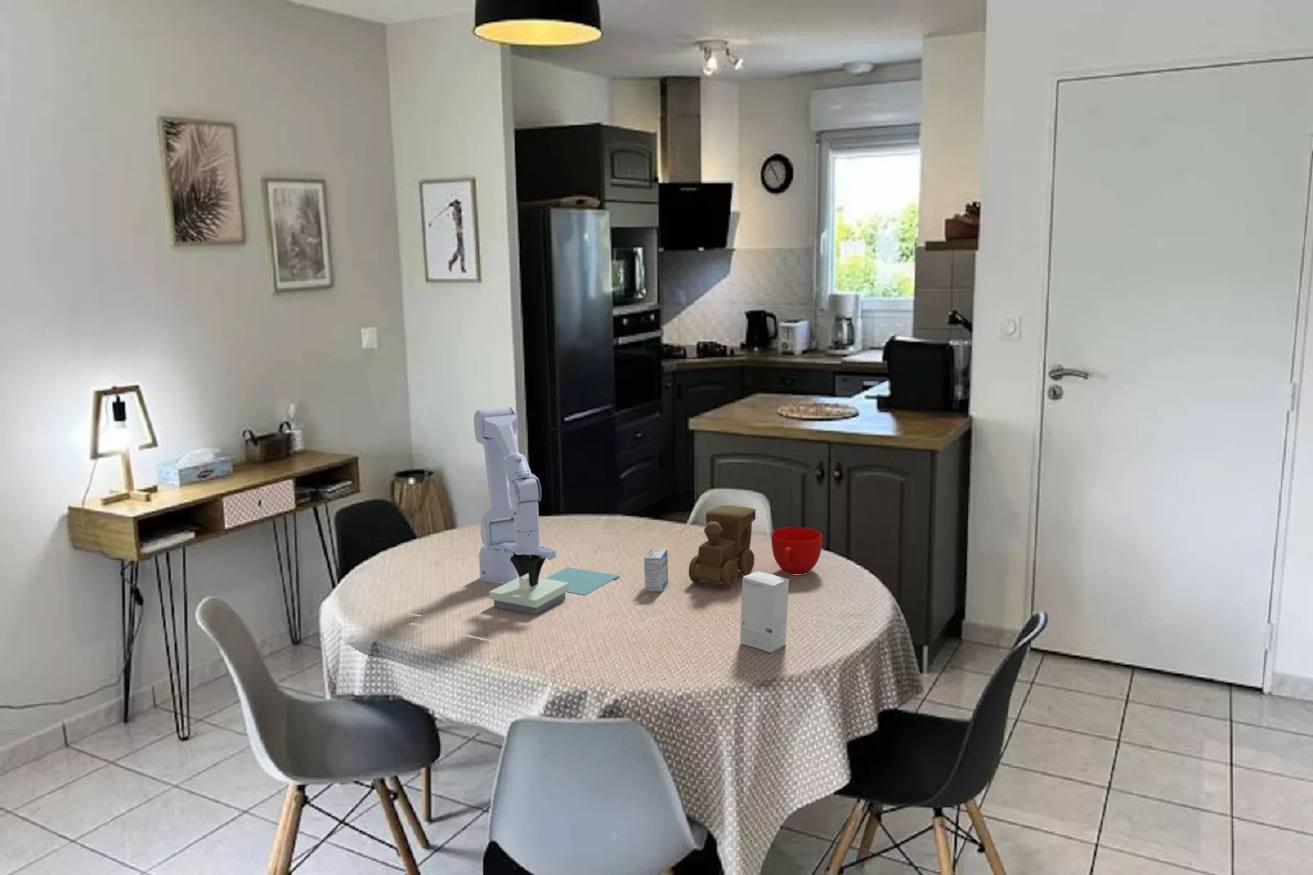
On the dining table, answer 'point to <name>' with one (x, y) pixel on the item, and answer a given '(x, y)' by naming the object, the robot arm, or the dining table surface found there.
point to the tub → (526, 608)
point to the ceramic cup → (796, 549)
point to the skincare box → (764, 611)
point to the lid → (529, 591)
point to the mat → (582, 579)
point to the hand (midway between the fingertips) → (529, 584)
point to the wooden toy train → (725, 546)
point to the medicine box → (656, 570)
